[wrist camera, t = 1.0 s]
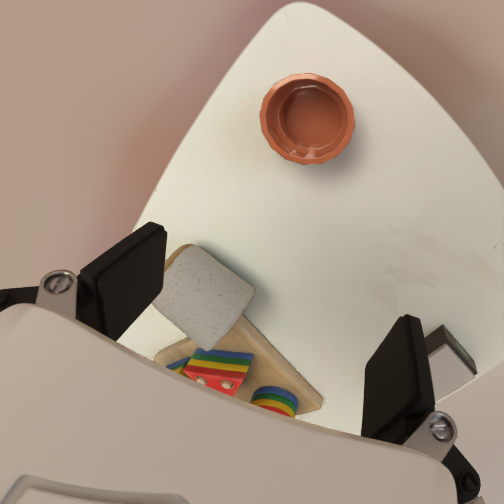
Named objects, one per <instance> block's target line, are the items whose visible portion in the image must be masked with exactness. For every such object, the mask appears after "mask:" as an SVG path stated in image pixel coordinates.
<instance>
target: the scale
mask: <svg viewBox="0 0 504 504" xmlns="http://www.w3.org/2000/svg"><path fill="white" fill-rule="evenodd" d="M424 339H425V344H426V349H427V354H428V359H429V364H430V370H431V376H432V382H433V389H434V396H435V402H436V401H438V400H439V399H441V398H443V397H445V396H446V395H448V394H450V393H451V392H453V391H455V390H456V389H458V388H460V387H461V386H463V385H464V384H466V383H467V382H469V381H470V380H472V379H473V378H475V376H474V375H476V374H477V369H476V366H475V363H474V360H473V359H472V358H471V357H470V355H469V354H468V353H467V352H466V351H465V349H464V348H463V347H462V346H461V345H460V344H459V343H458V341H457V340H456V339H455V338H454V337H453V336H452V335H451V333H450V332H449V331H448V330H447V329H446V328H445V327H444V326H443V325H442V326H441V327H439V328H438V329H437V330H435V331H434V332H433V333H431V334H430V335H428V336H427V337H426V338H424Z"/></svg>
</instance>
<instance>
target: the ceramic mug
mask: <svg viewBox="0 0 504 504" xmlns="http://www.w3.org/2000/svg"><path fill="white" fill-rule="evenodd" d="M254 294H255V288H254V287H253V286H251V285H250V284H248V283H247V282H245V281H244V280H243V279H242V278H240V277H239V276H238V275H236V274H235V273H234V272H232V271H231V270H230V269H228V268H227V267H225V266H224V265H223V264H221V263H220V262H219V261H217V260H216V259H215V258H214V257H212V256H211V255H210V254H208V253H207V252H206V251H204V250H203V249H201V248H199V247H197V246H195V245H193V244H186V245H183V246H181V247H180V248H178V249H177V250H176V251H175V252H174V253H173V254H172V255H171V256H170V257H169V258H168V259H167V260H166V261H165V267H164V282H163V289H162V291H161V293H160V294H159V295H158V296H157V297H156V298H155V299H154V300H153V302H152V304H153V305H154V307H155V308H156V309H157V310H158V311H159V312H160V313H161V314H162V315H164V316H165V317H166V318H167V319H168V320H170V321H171V322H172V323H173V324H174V325H176V326H177V327H178V328H179V329H180V330H181V331H182V332H183V333H185V334H186V335H187V336H188V337H189V338H190V339H192V340H193V341H194V342H195V343H196V344H197V345H199V346H200V347H201V348H202V349H204V350H205V351H209V350H211V349H212V348H213V347H214V346H216V344H217V343H218V342H219V341H220V340H221V339H222V338H223V337H224V336H225V335H226V333H227V332H228V331H229V330H230V329H231V328H232V326H233V325H234V323H235V322H236V320H237V319H238V318H239V317H240V315H241V314H242V313H243V311H244V310H245V308H246V307H247V305H248V304H249V302H250V300H251V299H252V297H253V296H254Z"/></svg>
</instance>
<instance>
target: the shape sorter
mask: <svg viewBox="0 0 504 504" xmlns="http://www.w3.org/2000/svg"><path fill="white" fill-rule="evenodd" d="M154 361H155V362H156V363H157V364H159V365H161V366H163V367H166V368H168V369H170V370H172V371H174V372H176V373H178V374H180V375H183V376H185V377H187V378H189V379H191V380H194V381H196V382H198V383H200V384H203V385H205V386H207V387H210V388H212V389H215V390H217V391H219V392H222V393H224V394H227V395H229V396H232V397H234V398H237V399H240V400H242V401H245V402H248V403H250V404H253V405H256V406H259V407H261V408H264V409H267V410H270V411H273V412H276V413H279V414H282V415H285V416H288V417H291V418H295V415H299V414H304V413H308V412H312V411H316V410H319V409H320V408H321V406H322V401H323V398H322V397H321V396H320V395H319V394H318V393H317V392H316V391H315V390H314V389H313V388H312V387H311V386H310V385H309V384H308V383H307V382H306V381H305V380H304V379H303V378H302V377H301V376H300V375H299V373H298V372H297V371H296V370H295V369H294V368H293V367H292V366H291V365H290V364H289V363H288V362H287V361H286V360H285V359H284V358H283V357H282V356H281V355H280V354H279V353H278V352H277V351H276V350H275V349H274V348H273V346H272V345H271V344H270V343H269V342H268V341H267V340H266V339H265V338H264V337H263V336H262V335H261V334H260V333H259V332H258V331H257V329H256V328H255V327H254V326H253V325H252V324H251V323H250V322H249V321H248V320H247V319H246V318H245V317H244V316H243V315H242V314H241V315H240V317H239V318H238V319H237V320H236V322H235V323H234V325H233V326H232V328H231V329H230V330H229V331H228V332H227V333H226V335H225V336H224V337H223V338H222V339H221V340H220V341H219V342H218V343H217V344H216V346H214V347H213V348H212V349H211V350H209V351H205V350H204V349H202V348H201V347H200V346H199V345H197V344H196V343H195V342H194V341H193V340H192V339H190V338H189V337H187V338H185V339H183V340H181V341H179V342H177V343H175V344H173V345H171V346H169V347H167V348H165V349H163V350H161V351H159V352H158V353H157V355H156V356H155V358H154Z"/></svg>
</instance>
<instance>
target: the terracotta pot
mask: <svg viewBox="0 0 504 504" xmlns="http://www.w3.org/2000/svg"><path fill="white" fill-rule="evenodd" d="M260 121H261V128H262V132H263V135H264V136H265V138H266V140H267V141H268V143H269V145H270V146H271V148H272V149H273V150H275V151H276V152H277V153H279V154H280V155H281V156H282V157H284V158H285V159H287V160H290V161H293V162H296V163H299V164H302V165H307V164H321V163H324V162H326V161H328V160H330V159H332V158H334V157H336V156H338V155H339V154H340V153H341V152H342V150H343V149H344V148H345V147H346V146H347V145H348V144H349V142H350V140H351V136H352V133H353V130H354V127H355V121H354V112H353V107H352V104H351V102H350V101H349V99H348V97H347V96H346V94H345V92H344V91H343V89H341V88H340V87H339V86H338V85H336V84H335V83H334V82H332V81H331V80H330V79H328V78H326V77H322V76H319V75H315V74H311V73H304V74H295V75H290V76H288V77H286V78H284V79H282V80H281V81H279V82H277V83H275V84H274V85H273V87H272V88H271V89H270V90H269V92H268V93H267V94H266V96H265V97H264V99H263V103H262V107H261V111H260Z"/></svg>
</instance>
